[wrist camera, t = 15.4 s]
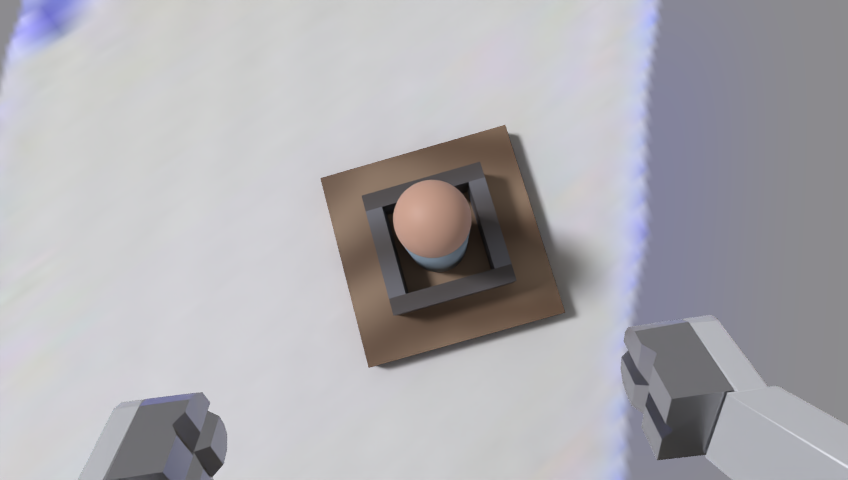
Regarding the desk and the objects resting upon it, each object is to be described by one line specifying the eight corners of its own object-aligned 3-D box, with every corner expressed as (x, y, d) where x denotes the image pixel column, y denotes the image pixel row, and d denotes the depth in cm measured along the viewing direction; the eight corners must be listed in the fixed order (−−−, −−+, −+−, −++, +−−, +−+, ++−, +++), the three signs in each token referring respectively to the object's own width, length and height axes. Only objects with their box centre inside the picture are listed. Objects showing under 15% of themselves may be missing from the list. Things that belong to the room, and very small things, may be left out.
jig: (560, 312, 38) (574, 312, 34) (372, 365, 39) (361, 372, 34) (503, 131, 41) (509, 109, 36) (325, 183, 41) (309, 167, 37)
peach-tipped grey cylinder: (473, 263, 38) (483, 240, 26) (417, 278, 38) (400, 263, 26) (458, 208, 39) (459, 160, 26) (402, 223, 39) (379, 183, 27)
